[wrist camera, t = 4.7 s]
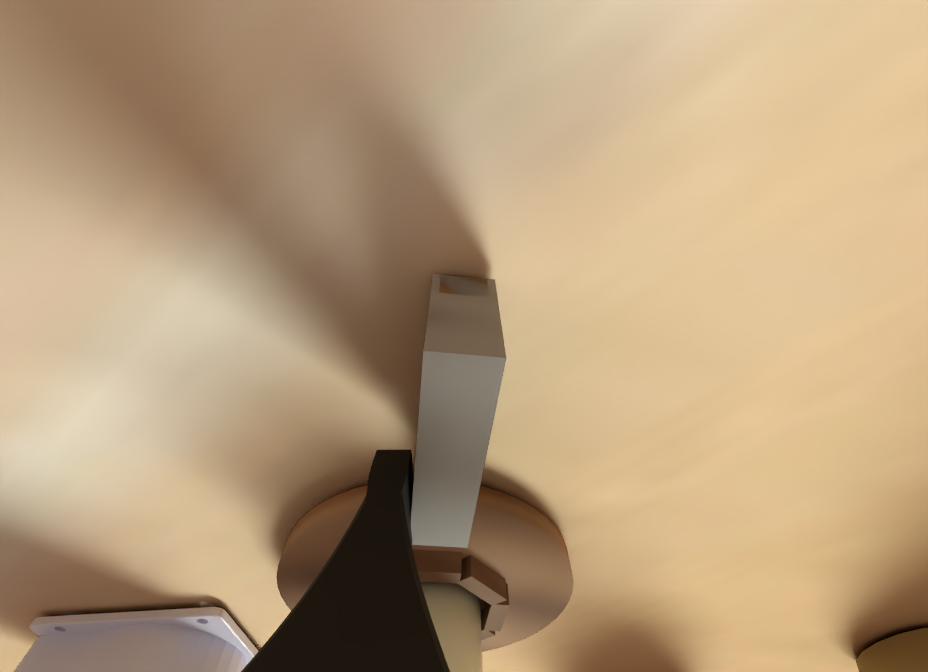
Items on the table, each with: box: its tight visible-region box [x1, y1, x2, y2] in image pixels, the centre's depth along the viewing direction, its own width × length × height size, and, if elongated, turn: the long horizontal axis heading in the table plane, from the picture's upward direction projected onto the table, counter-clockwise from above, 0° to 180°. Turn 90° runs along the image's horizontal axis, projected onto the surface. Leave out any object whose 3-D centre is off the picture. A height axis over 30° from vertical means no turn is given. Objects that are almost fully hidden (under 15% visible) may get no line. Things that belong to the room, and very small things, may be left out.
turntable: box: [277, 274, 573, 652], centre depth 15 cm, size 20×12×4 cm, turn 174°
